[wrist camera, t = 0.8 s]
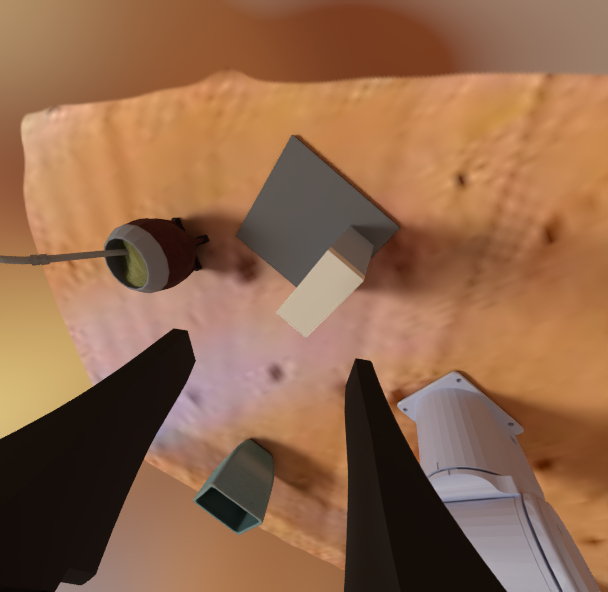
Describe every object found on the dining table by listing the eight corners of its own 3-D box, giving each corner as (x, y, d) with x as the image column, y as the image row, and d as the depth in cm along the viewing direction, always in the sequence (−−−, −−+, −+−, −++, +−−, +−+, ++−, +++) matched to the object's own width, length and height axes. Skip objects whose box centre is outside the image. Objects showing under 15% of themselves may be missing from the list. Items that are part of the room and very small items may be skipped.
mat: (399, 227, 22) (400, 228, 21) (322, 307, 27) (322, 308, 27) (293, 135, 21) (292, 134, 21) (237, 235, 27) (235, 235, 26)
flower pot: (264, 475, 45) (238, 537, 37) (225, 446, 45) (191, 501, 37) (288, 458, 41) (263, 523, 33) (245, 425, 41) (210, 483, 33)
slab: (373, 245, 23) (364, 280, 15) (332, 289, 26) (305, 338, 18) (350, 225, 22) (327, 250, 15) (311, 271, 25) (275, 312, 18)
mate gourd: (223, 266, 29) (88, 336, 16) (176, 279, 32) (30, 346, 19) (195, 200, 27) (11, 221, 14) (147, 221, 30) (-41, 253, 17)
